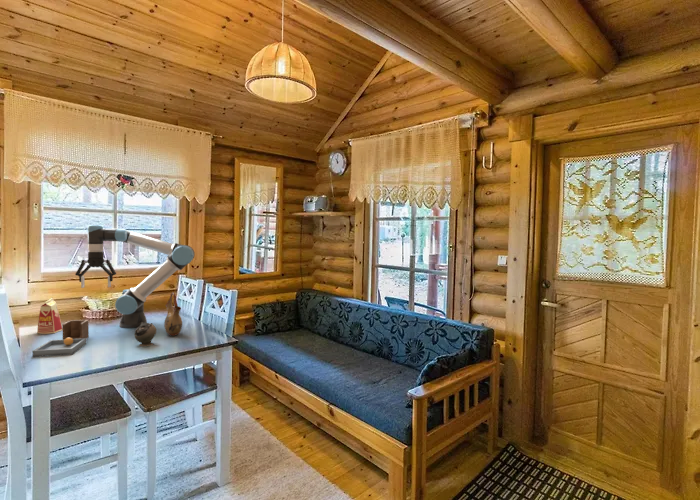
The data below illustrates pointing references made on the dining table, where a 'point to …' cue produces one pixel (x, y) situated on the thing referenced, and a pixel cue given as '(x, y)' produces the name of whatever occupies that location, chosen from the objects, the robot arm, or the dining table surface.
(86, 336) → the brown open box
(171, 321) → the ceramic vessel
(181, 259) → the robot arm
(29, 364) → the dining table surface
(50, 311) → the milk carton
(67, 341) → the ball
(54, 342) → the tray
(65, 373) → the dining table surface
